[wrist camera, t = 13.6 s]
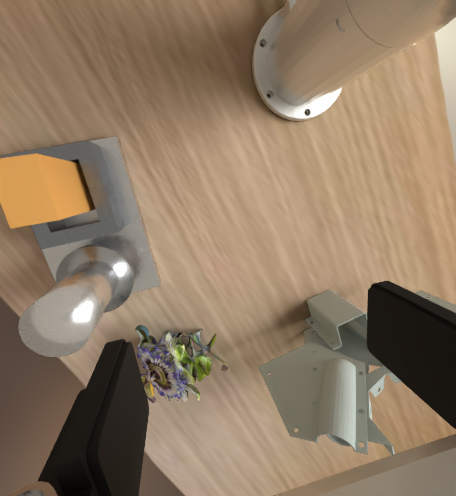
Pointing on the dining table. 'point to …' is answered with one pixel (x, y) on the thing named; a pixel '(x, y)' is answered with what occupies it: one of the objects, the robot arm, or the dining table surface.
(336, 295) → the bracket
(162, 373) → the passion flower
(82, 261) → the gray socket post fixture
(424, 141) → the dining table surface
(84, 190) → the tan rectangular block
